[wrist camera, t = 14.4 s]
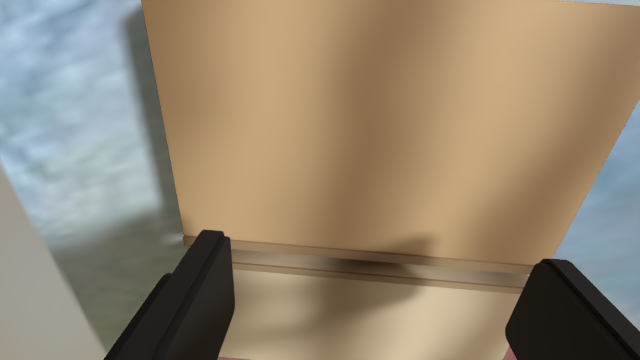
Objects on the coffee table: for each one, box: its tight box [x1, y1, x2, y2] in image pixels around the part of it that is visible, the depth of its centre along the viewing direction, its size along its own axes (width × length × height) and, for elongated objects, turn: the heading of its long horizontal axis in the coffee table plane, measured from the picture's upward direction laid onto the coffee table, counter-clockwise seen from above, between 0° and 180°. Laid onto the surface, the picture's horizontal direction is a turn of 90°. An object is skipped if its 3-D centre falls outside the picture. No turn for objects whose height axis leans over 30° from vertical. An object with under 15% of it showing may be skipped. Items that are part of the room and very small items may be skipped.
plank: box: [141, 0, 640, 275], centre depth 11 cm, size 14×9×2 cm, turn 86°
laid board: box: [219, 249, 529, 360], centre depth 15 cm, size 14×6×2 cm, turn 86°
